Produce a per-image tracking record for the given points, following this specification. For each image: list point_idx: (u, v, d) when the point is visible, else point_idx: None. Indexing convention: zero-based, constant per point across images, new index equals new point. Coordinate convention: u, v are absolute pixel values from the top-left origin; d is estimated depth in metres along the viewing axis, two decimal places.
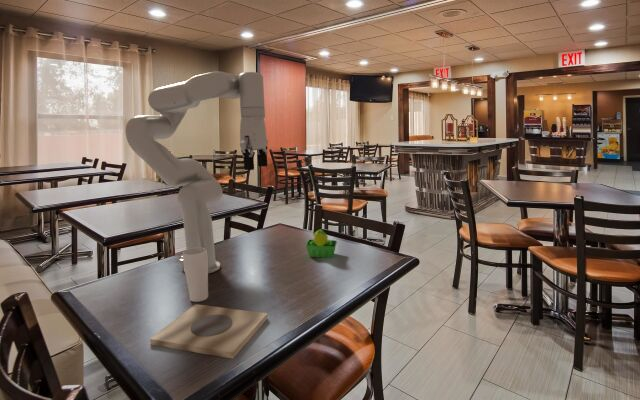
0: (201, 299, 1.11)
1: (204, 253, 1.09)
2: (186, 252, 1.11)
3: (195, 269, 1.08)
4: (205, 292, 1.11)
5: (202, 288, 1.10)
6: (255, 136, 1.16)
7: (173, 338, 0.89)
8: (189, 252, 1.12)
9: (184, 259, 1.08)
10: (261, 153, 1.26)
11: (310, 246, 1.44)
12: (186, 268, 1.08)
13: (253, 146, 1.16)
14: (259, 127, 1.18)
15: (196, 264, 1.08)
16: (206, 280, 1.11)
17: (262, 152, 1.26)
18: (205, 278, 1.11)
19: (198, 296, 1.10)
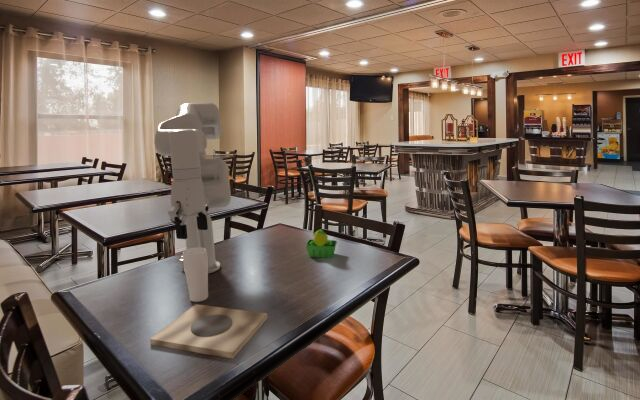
0: (201, 299, 1.11)
1: (204, 253, 1.09)
2: (186, 252, 1.11)
3: (195, 269, 1.08)
4: (205, 292, 1.11)
5: (202, 288, 1.10)
6: (188, 202, 1.03)
7: (173, 338, 0.89)
8: (189, 252, 1.12)
9: (184, 259, 1.08)
10: (200, 215, 1.12)
11: (310, 246, 1.44)
12: (186, 268, 1.08)
13: (185, 213, 1.02)
14: (193, 190, 1.04)
15: (196, 264, 1.08)
16: (206, 280, 1.11)
17: (201, 214, 1.12)
18: (205, 278, 1.11)
19: (198, 296, 1.10)
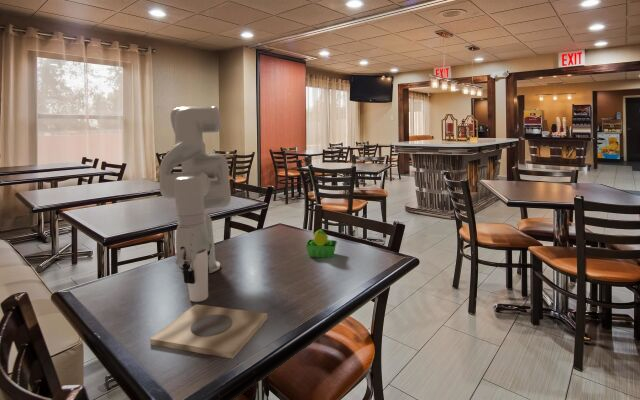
0: (201, 299, 1.11)
1: (204, 253, 1.09)
2: None
3: (195, 269, 1.08)
4: (205, 292, 1.11)
5: (202, 288, 1.10)
6: (192, 247, 1.05)
7: (173, 338, 0.89)
8: None
9: None
10: None
11: (310, 246, 1.44)
12: None
13: (190, 258, 1.05)
14: (197, 235, 1.07)
15: (196, 264, 1.08)
16: (206, 280, 1.11)
17: None
18: (205, 278, 1.11)
19: (198, 296, 1.10)
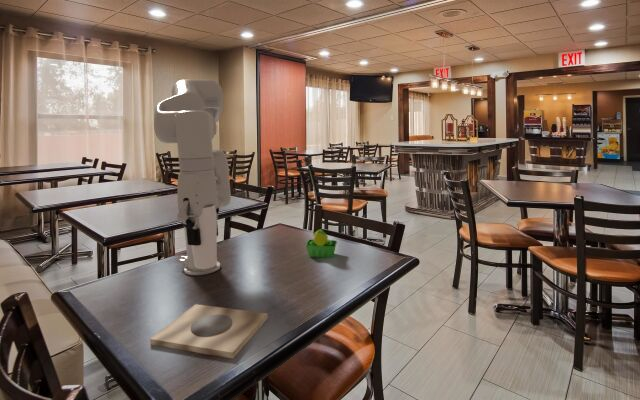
0: (208, 266, 0.90)
1: (212, 208, 0.88)
2: None
3: (201, 227, 0.87)
4: (213, 257, 0.90)
5: (209, 252, 0.89)
6: (198, 199, 0.84)
7: (173, 338, 0.89)
8: None
9: None
10: None
11: (310, 246, 1.44)
12: None
13: (195, 212, 0.84)
14: (204, 185, 0.86)
15: (203, 221, 0.86)
16: (215, 242, 0.90)
17: None
18: (214, 240, 0.89)
19: (205, 262, 0.89)
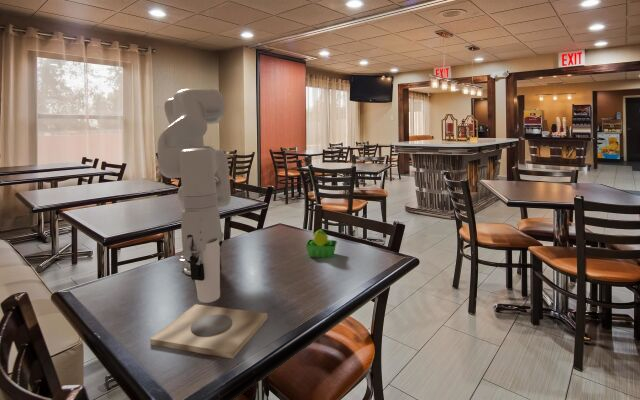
0: (212, 299, 0.91)
1: (216, 243, 0.89)
2: None
3: (205, 262, 0.88)
4: (217, 291, 0.91)
5: (213, 286, 0.90)
6: (201, 235, 0.86)
7: (173, 338, 0.89)
8: None
9: None
10: None
11: (310, 246, 1.44)
12: None
13: (199, 248, 0.85)
14: (208, 221, 0.87)
15: (206, 257, 0.88)
16: (218, 276, 0.91)
17: None
18: (217, 274, 0.91)
19: (209, 295, 0.90)
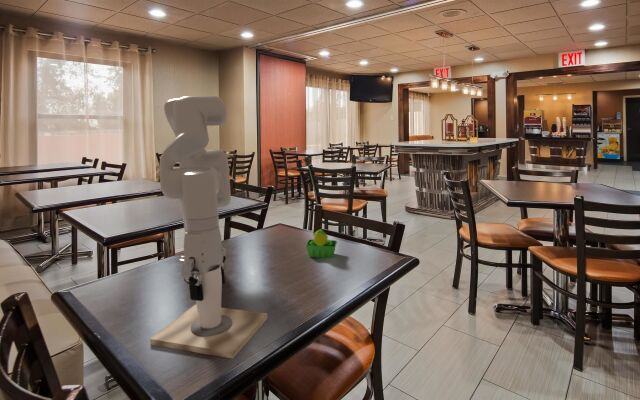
0: (213, 325, 0.92)
1: (218, 270, 0.91)
2: (196, 269, 0.93)
3: (207, 290, 0.89)
4: (218, 317, 0.93)
5: (214, 312, 0.92)
6: (203, 257, 0.87)
7: (173, 338, 0.89)
8: None
9: (194, 277, 0.90)
10: None
11: (310, 246, 1.44)
12: None
13: (201, 270, 0.86)
14: (209, 243, 0.88)
15: (209, 284, 0.89)
16: (219, 302, 0.93)
17: None
18: (219, 300, 0.92)
19: (210, 322, 0.92)
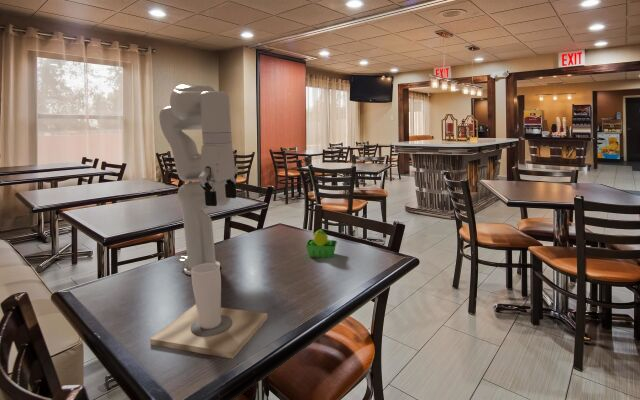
0: (213, 326, 0.92)
1: (217, 271, 0.91)
2: (195, 269, 0.93)
3: (206, 290, 0.89)
4: (218, 317, 0.93)
5: (214, 313, 0.92)
6: (218, 167, 0.99)
7: (173, 338, 0.89)
8: (198, 269, 0.94)
9: (193, 278, 0.90)
10: (229, 183, 1.08)
11: (310, 246, 1.44)
12: (196, 289, 0.90)
13: (215, 179, 0.99)
14: (223, 156, 1.00)
15: (208, 285, 0.89)
16: (219, 303, 0.93)
17: (230, 182, 1.08)
18: (218, 301, 0.92)
19: (210, 322, 0.92)
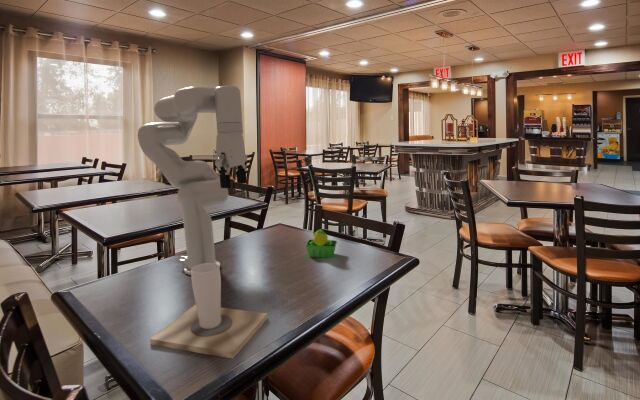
0: (213, 326, 0.92)
1: (217, 271, 0.91)
2: (195, 269, 0.93)
3: (206, 290, 0.89)
4: (218, 317, 0.93)
5: (214, 313, 0.92)
6: (232, 153, 1.11)
7: (173, 338, 0.89)
8: (198, 269, 0.94)
9: (193, 278, 0.89)
10: (240, 169, 1.20)
11: (310, 246, 1.44)
12: (196, 289, 0.89)
13: (229, 163, 1.10)
14: (236, 143, 1.12)
15: (208, 285, 0.89)
16: (219, 303, 0.93)
17: (241, 168, 1.20)
18: (218, 301, 0.92)
19: (210, 322, 0.92)
